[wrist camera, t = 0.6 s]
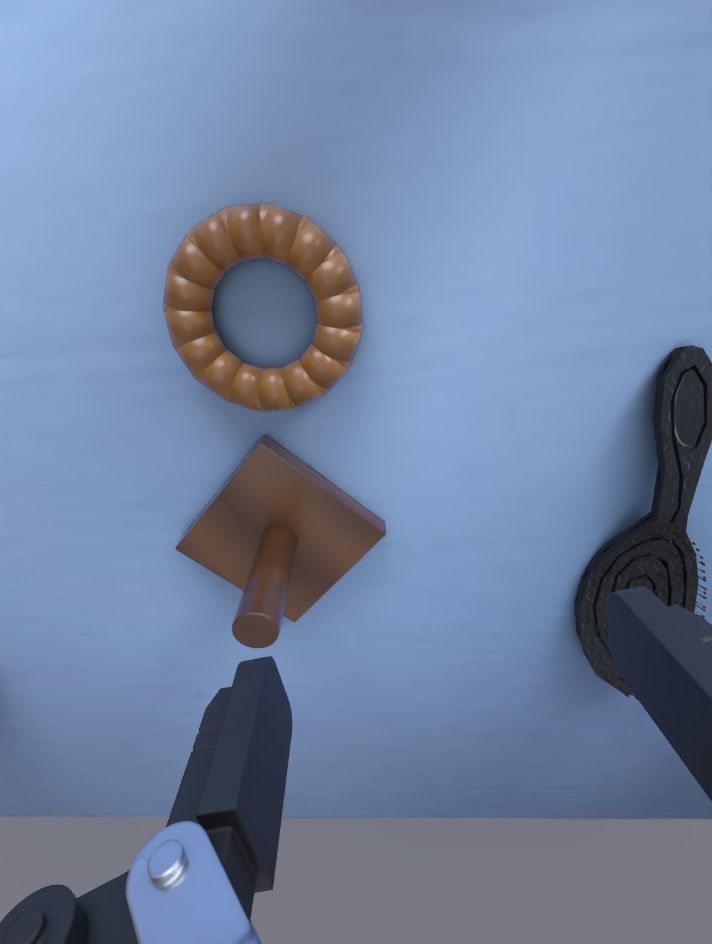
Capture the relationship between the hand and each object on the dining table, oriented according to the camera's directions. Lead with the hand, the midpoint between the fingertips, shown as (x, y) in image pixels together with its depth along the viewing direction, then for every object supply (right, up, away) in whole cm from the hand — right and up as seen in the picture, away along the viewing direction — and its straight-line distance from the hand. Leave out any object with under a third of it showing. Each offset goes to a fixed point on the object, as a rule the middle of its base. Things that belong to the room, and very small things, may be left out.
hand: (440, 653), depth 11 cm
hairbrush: (+18, 0, +21) cm, 28 cm away
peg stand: (-7, 0, +21) cm, 22 cm away
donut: (-7, +13, +14) cm, 20 cm away
